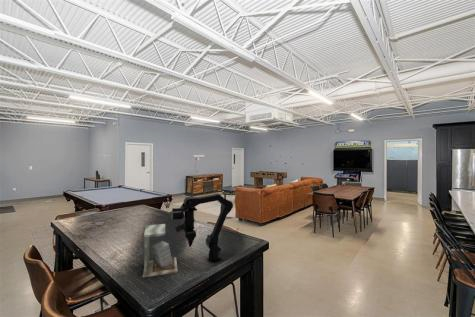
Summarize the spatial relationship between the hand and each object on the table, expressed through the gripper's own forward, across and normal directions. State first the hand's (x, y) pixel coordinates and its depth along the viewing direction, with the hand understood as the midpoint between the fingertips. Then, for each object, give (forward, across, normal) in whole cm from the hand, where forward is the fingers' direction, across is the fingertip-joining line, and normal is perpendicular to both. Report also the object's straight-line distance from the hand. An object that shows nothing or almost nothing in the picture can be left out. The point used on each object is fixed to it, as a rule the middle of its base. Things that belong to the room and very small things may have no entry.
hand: (189, 243), depth 139 cm
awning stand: (+13, -2, -17) cm, 21 cm away
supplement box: (+12, -2, -14) cm, 19 cm away
